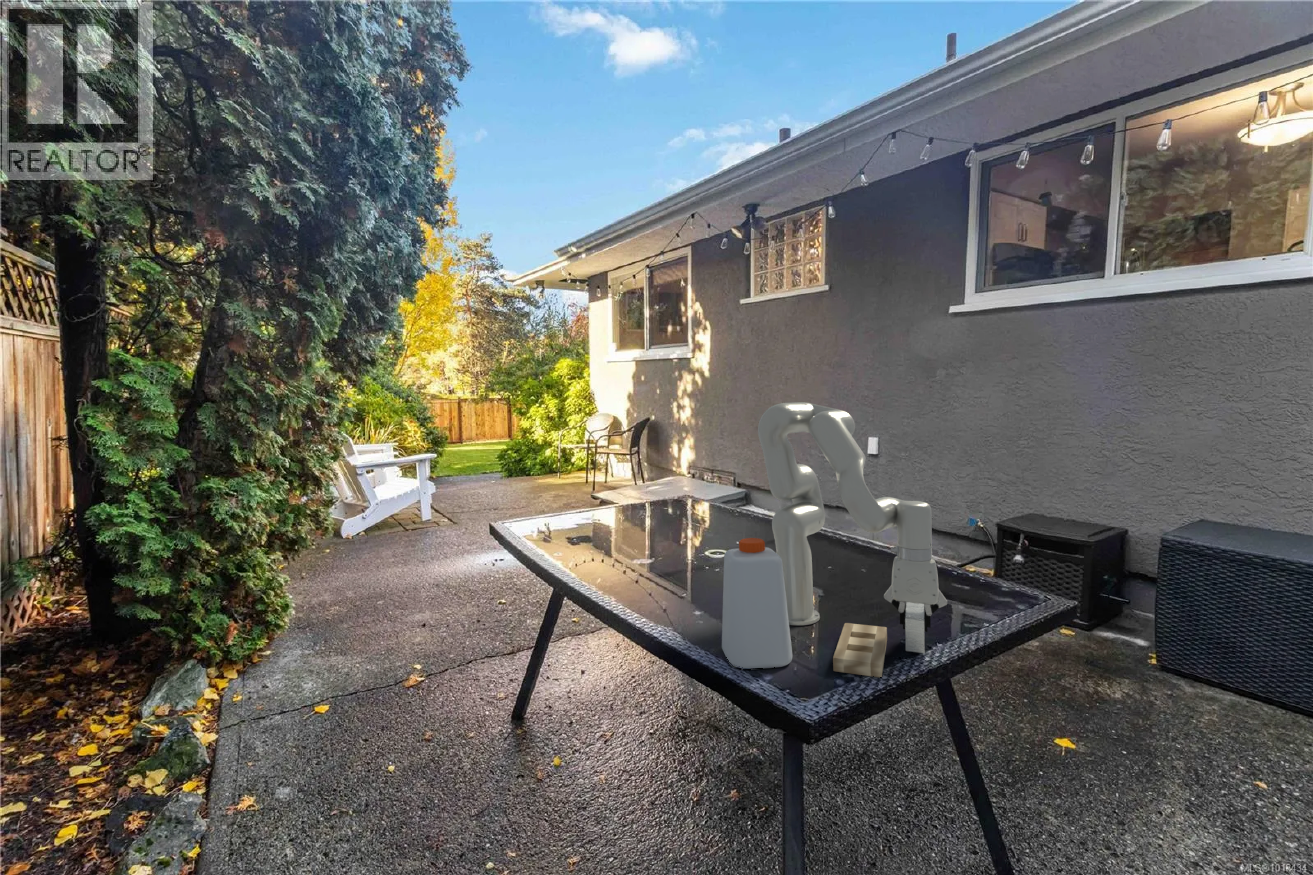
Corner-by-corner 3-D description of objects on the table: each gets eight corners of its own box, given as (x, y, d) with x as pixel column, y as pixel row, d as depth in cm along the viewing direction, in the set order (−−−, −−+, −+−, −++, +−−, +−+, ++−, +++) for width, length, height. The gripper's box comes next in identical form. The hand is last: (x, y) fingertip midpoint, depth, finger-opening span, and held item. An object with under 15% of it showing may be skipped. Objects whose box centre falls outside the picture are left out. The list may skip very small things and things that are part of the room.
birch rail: (833, 671, 128) (833, 657, 128) (845, 634, 148) (844, 622, 148) (881, 677, 124) (881, 664, 124) (887, 639, 144) (886, 627, 144)
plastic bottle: (797, 668, 131) (793, 545, 129) (731, 673, 130) (726, 550, 128) (778, 641, 146) (773, 531, 145) (719, 646, 145) (714, 535, 143)
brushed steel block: (905, 652, 134) (905, 618, 134) (906, 633, 145) (906, 601, 145) (924, 655, 133) (924, 620, 132) (924, 635, 143) (924, 603, 143)
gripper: (875, 554, 138) (876, 629, 139) (954, 560, 131) (955, 639, 132) (878, 547, 144) (878, 618, 146) (953, 552, 137) (953, 627, 139)
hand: (915, 627), depth 139 cm, fingers closed on brushed steel block, 4 cm apart
